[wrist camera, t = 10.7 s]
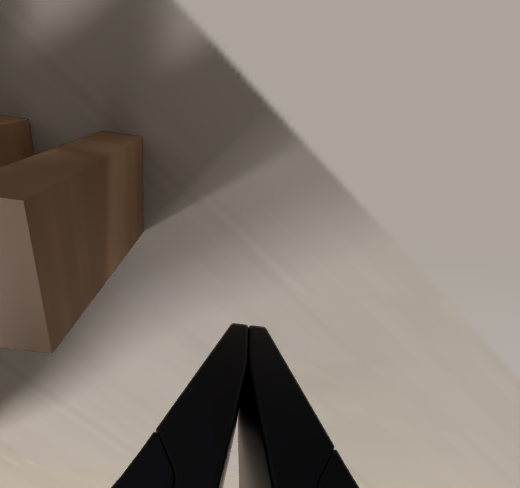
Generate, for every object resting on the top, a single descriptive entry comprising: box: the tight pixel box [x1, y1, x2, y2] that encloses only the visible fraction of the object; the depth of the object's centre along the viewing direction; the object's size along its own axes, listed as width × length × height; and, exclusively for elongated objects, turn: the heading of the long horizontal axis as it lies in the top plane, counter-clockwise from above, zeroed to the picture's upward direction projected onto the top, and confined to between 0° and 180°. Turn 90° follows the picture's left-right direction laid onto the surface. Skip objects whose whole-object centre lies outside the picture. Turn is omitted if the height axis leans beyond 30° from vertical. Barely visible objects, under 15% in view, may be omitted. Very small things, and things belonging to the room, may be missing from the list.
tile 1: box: [0, 131, 143, 353], centre depth 12 cm, size 2×5×8 cm, turn 172°
